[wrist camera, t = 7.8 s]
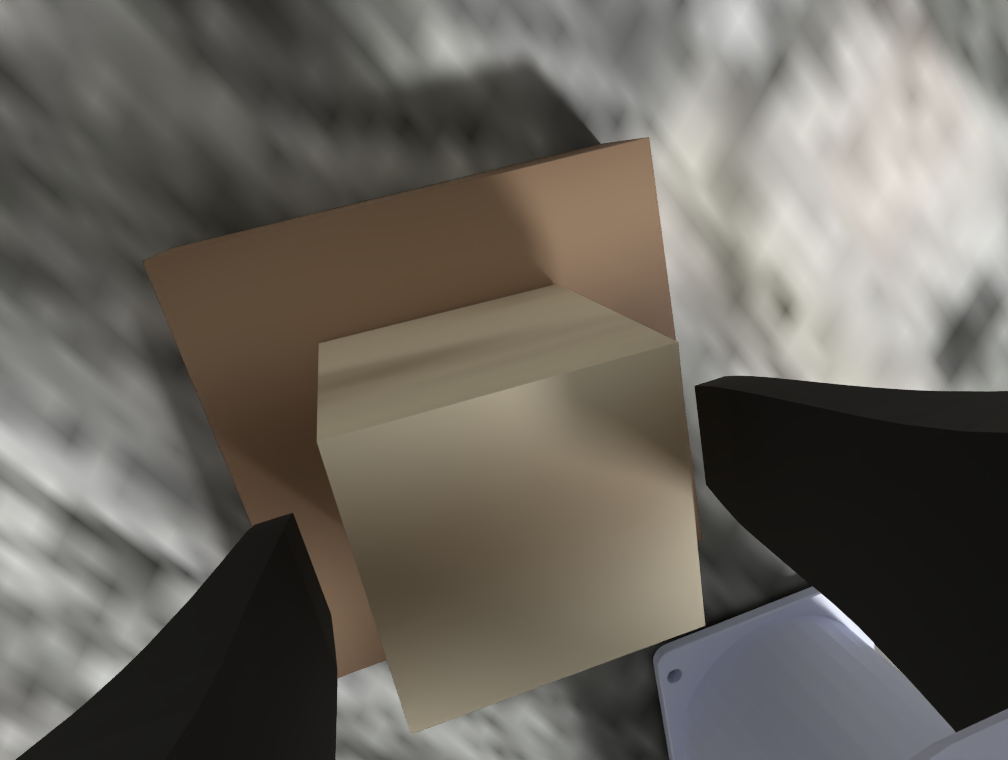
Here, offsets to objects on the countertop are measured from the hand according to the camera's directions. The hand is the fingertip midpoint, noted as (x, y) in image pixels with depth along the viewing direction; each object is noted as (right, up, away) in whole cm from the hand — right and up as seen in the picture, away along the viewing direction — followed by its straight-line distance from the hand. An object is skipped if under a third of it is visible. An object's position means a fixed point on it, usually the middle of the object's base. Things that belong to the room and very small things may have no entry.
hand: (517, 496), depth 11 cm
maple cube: (-1, +1, +3) cm, 3 cm away
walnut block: (-2, +2, +6) cm, 6 cm away
